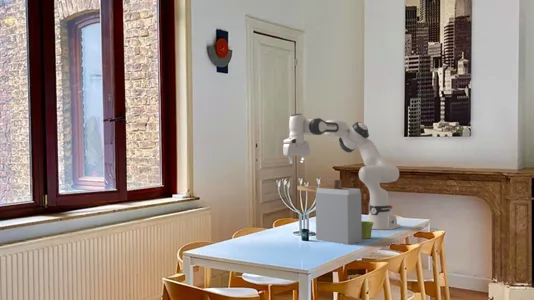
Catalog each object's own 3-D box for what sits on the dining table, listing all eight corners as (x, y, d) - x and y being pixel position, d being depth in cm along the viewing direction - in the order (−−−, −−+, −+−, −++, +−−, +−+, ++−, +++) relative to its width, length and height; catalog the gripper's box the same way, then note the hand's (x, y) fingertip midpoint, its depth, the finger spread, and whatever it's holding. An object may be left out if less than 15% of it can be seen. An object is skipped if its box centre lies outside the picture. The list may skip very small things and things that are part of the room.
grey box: (330, 236, 314) (329, 186, 313) (361, 241, 298) (361, 188, 297) (316, 239, 305) (315, 188, 305) (347, 244, 290) (347, 190, 289)
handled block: (302, 189, 324) (302, 177, 324) (341, 192, 303) (341, 179, 303) (295, 190, 320) (295, 178, 320) (334, 193, 299) (334, 180, 299)
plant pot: (372, 239, 302) (372, 224, 302) (355, 239, 305) (355, 223, 305) (374, 236, 311) (374, 221, 311) (358, 236, 314) (358, 221, 314)
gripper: (304, 140, 343) (304, 162, 343) (281, 140, 329) (281, 163, 329) (312, 140, 339) (312, 162, 339) (288, 140, 324) (289, 164, 325)
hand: (297, 163), depth 334 cm, fingers open, 8 cm apart
